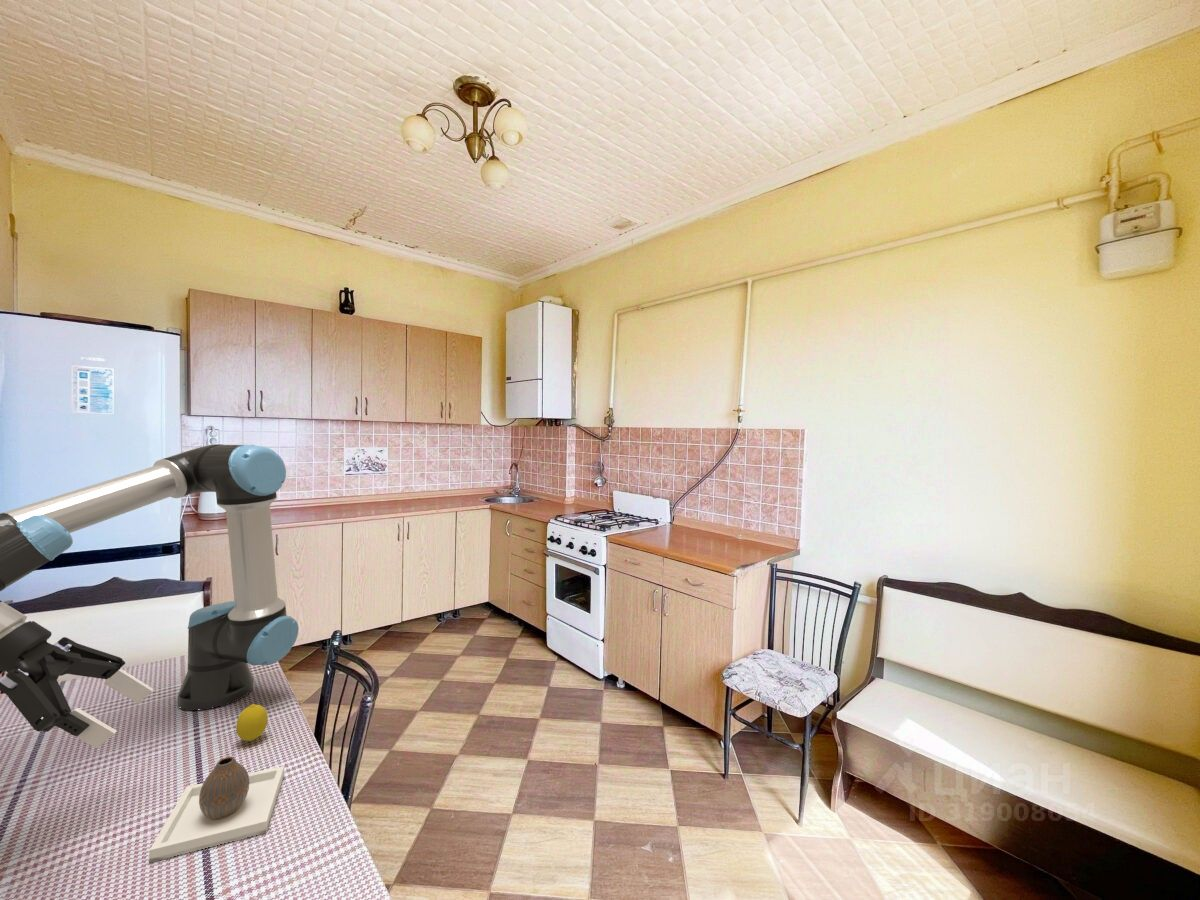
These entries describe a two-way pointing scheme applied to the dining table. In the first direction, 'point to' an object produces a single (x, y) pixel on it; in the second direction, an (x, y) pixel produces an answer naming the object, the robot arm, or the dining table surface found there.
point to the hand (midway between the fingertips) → (128, 716)
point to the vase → (224, 789)
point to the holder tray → (200, 832)
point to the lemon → (251, 722)
